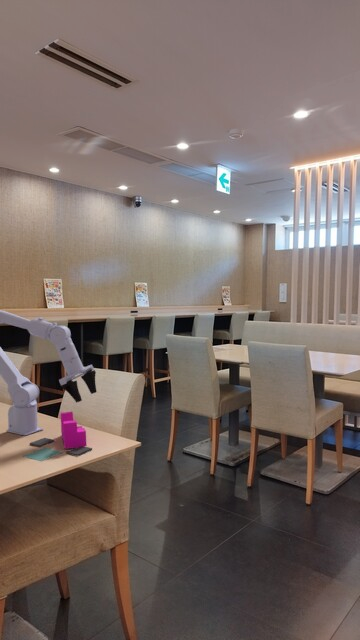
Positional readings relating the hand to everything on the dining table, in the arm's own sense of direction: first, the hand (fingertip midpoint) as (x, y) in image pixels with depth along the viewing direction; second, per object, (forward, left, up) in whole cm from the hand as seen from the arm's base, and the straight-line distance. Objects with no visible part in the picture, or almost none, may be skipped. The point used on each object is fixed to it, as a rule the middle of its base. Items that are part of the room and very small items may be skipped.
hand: (86, 397), depth 153 cm
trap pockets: (+4, -16, -12) cm, 20 cm away
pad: (+4, -23, -12) cm, 26 cm away
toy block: (+3, -10, -12) cm, 16 cm away
